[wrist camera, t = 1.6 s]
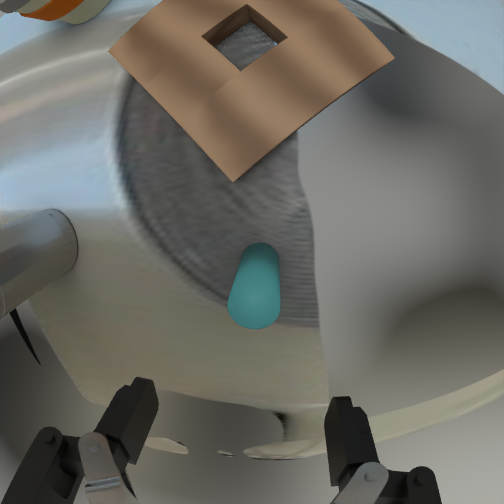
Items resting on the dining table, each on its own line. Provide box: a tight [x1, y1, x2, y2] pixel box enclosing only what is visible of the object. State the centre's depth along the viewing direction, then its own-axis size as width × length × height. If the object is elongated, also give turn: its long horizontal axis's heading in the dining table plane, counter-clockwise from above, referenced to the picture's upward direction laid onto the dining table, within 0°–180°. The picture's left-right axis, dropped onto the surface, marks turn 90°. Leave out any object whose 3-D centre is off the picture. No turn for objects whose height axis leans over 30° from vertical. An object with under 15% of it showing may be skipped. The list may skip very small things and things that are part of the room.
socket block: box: [108, 0, 394, 182], centre depth 21 cm, size 20×20×4 cm
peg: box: [227, 243, 280, 329], centre depth 26 cm, size 4×4×10 cm
